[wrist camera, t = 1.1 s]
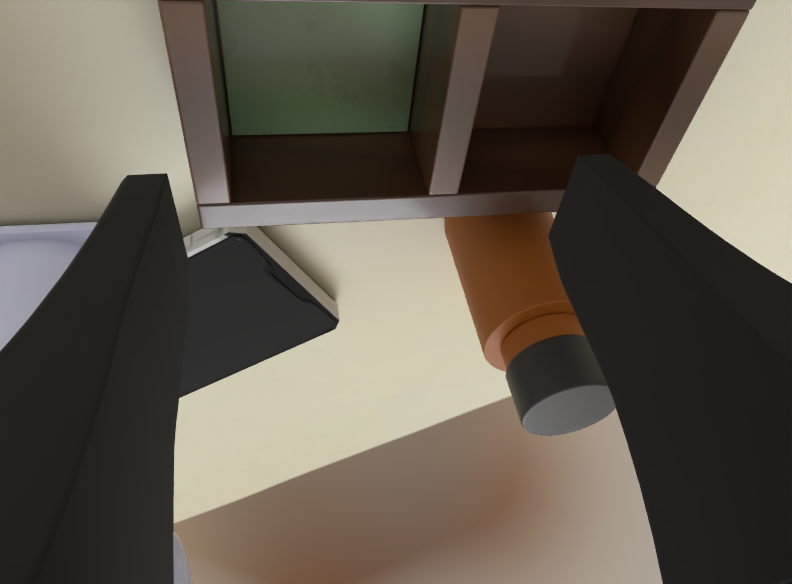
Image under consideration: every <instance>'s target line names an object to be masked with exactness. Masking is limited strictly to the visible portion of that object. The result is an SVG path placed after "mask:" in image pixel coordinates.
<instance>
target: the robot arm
mask: <svg viewBox="0 0 792 584" xmlns="http://www.w3.org/2000/svg"><path fill="white" fill-rule="evenodd" d="M548 237H549V241H550V245H551V249H552V252H553V256H554V260H555V263H556V267H557V270H558V273H559V276H560V280H561V283H562V285H563V287H564V290H565V292H566V294H567V296H568V299H569V301H570V303H571V305H572V308H573V310H574V312H575V314H576V317H577V319H578V321H579V323H580V325H581V328H582V330H583V332H584V334H585V336H586V338H587V341H588V343H589V345H590V347H591V349H592V351H593V354H594V356H595V358H596V360H597V362H598V365H599V367H600V369H601V371H602V373H603V376H604V378H605V380H606V383H607V385H608V388H609V390H610V393H611V395H612V398H613V400H614V403H615V407H616V410H617V412H618V416H619V419H620V422H621V425H622V428H623V431H624V434H625V437H626V440H627V443H628V447H629V450H630V453H631V457H632V460H633V464H634V467H635V470H636V474H637V478H638V481H639V484H640V488H641V492H642V496H643V500H644V503H645V508H646V512H647V515H648V519H649V523H650V527H651V531H652V535H653V539H654V544H655V549H656V553H657V558H658V563H659V567H660V572H661V577H662V582H663V584H792V283H790V282H788V281H786V280H785V279H783V278H781V277H780V276H778V275H776V274H775V273H773V272H771V271H770V270H768V269H767V268H765V267H764V266H762V265H760V264H759V263H757V262H756V261H754V260H753V259H751V258H750V257H748V256H747V255H746V254H744V253H743V252H741V251H740V250H738V249H737V248H735V247H734V246H732V245H731V244H729V243H728V242H726V241H725V240H724V239H722V238H721V237H720V236H718V235H717V234H715V233H714V232H713V231H711V230H710V229H708V228H707V227H706V226H704V225H703V224H702V223H700V222H699V221H698V220H696V219H695V218H694V217H692V216H691V215H690V214H688V213H687V212H686V211H684V210H683V209H682V208H681V207H679V206H678V205H677V204H675V203H674V202H673V201H671V200H670V199H669V198H668V197H666V196H665V195H664V194H662V193H661V192H660V191H659V190H657V189H656V188H655V187H653V186H652V185H651V184H650V183H648V182H647V181H646V180H644V179H643V178H642V177H640V176H639V175H638V174H636V173H635V172H634V171H633V170H631V169H630V168H628V167H627V166H626V165H624V164H623V163H622V162H620V161H619V160H617V159H616V158H614V157H613V156H611V155H610V154H600V155H578V157H577V160H576V163H575V165H574V168H573V171H572V173H571V176H570V179H569V181H568V184H567V187H566V189H565V192H564V195H563V197H562V200H561V203H560V206H559V208H558V211H557V214H556V216H555V219H554V222H553V224H552V227H551V230H550V232H549V235H548ZM188 317H189V262H188V256H187V252H186V248H185V244H184V240H183V236H182V232H181V228H180V224H179V220H178V216H177V212H176V208H175V204H174V200H173V196H172V192H171V188H170V184H169V180H168V176H167V174H145V175H127V177H126V178H125V179H124V180H123V181H122V182H121V184H120V186H119V187H118V189H117V191H116V193H115V194H114V196H113V198H112V199H111V201H110V203H109V204H108V206H107V208H106V209H105V211H104V213H103V214H102V216H101V218H100V219H99V221H98V222H84V223H62V224H39V225H17V226H0V584H193V583H192V575H191V570H190V566H189V563H188V560H187V558H186V554H185V551H184V548H183V545H182V543H181V541H180V539H179V538H178V536H177V534H176V533H175V532H174V531H173V497H174V444H175V430H176V420H177V411H178V403H179V394H180V386H181V378H182V369H183V361H184V352H185V344H186V335H187V326H188Z"/></svg>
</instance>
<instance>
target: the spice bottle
mask: <svg viewBox="0 0 792 584" xmlns="http://www.w3.org/2000/svg"><path fill="white" fill-rule="evenodd" d="M553 222H554V218H553V216H552V214H551V212H545V213H524V214H503V215H483V216H462V217H446V220H445V233H446V237H447V240H448V243H449V246H450V249H451V252H452V256H453V259H454V262H455V265H456V268H457V271H458V274H459V278H460V281H461V284H462V287H463V290H464V293H465V297H466V300H467V303H468V306H469V309H470V312H471V316H472V319H473V322H474V325H475V328H476V331H477V334H478V338H479V341H480V344H481V347H482V350H483V353H484V356H485V358H486V360H487V361H488V362H489V364H491V365H492V366H493V367H495V368H497V369H500V370H503V371H506V379H507V382H508V385H509V388H510V391H511V394H512V397H513V400H514V403H515V406H516V409H517V412H518V415H519V418H520V421H521V424H522V426H523V428H524V429H525V430H527V431H528V432H530V433H532V434H535V435H543V436H548V435H549V436H552V435H560V434H566V433H570V432H574V431H577V430H580V429H583V428H586V427H588V426H590V425H592V424H594V423H596V422H598V421H600V420H602V419H603V418H605V417H606V416H608V415H609V414H610V413H611V412H612V411H613V410H614V409H615V408H616V407H615V403H614V400H613V398H612V395H611V393H610V390H609V388H608V385H607V383H606V380H605V378H604V376H603V373H602V371H601V369H600V367H599V365H598V362H597V360H596V358H595V356H594V354H593V351H592V349H591V347H590V345H589V343H588V341H587V338H586V336H585V334H584V332H583V330H582V328H581V325H580V323H579V321H578V319H577V317H576V314H575V312H574V310H573V308H572V305H571V303H570V301H569V299H568V296H567V294H566V292H565V290H564V287H563V285H562V283H561V280H560V276H559V273H558V270H557V267H556V263H555V260H554V256H553V252H552V249H551V245H550V241H549V237H548V235H549V232H550V230H551V227H552V224H553Z"/></svg>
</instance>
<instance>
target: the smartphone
mask: <svg viewBox="0 0 792 584" xmlns="http://www.w3.org/2000/svg"><path fill="white" fill-rule="evenodd" d="M183 240H184V244H185V248H186V252H187V256H188V262H189V317H188V326H187V335H186V344H185V352H184V361H183V369H182V378H181V386H180V394H179V398H180V397H183V396H185V395H187V394H189V393H192V392H194V391H196V390H198V389H201V388H203V387H205V386H207V385H210V384H212V383H214V382H216V381H219V380H221V379H223V378H226V377H228V376H230V375H232V374H235V373H237V372H239V371H241V370H244V369H246V368H248V367H250V366H253V365H255V364H257V363H259V362H262V361H264V360H266V359H269V358H271V357H273V356H275V355H278V354H280V353H282V352H284V351H287V350H289V349H291V348H293V347H296V346H298V345H300V344H302V343H305V342H307V341H309V340H311V339H314V338H316V337H318V336H321V335H323V334H325V333H327V332H330V331H332V330H334V329H335V328H336V326H337V324H338V322H339V314H338V306H337V303H336V302H334V301H333V300H332V299H331V298H330V297H329V296H328V295H327V294H326V293H325V292H324V291H323V290H322V289H321V288H320V287H319V286H318V285H317V284H316V283H315V282H314V281H313V280H312V279H311V278H310V277H309V276H308V275H307V274H306V273H304V272H303V271H302V270H301V269H300V268H299V267H298V266H297V265H296V264H295V263H294V262H293V261H292V260H291V259H290V258H289V257H288V256H287V255H286V254H285V253H284V252H283V251H282V250H281V249H280V248H279V247H278V246H277V245H276V244H275V243H273V242H272V241H271V240H270V239H269V238H268V237H267V236H266V235H265V234H264V233H263V232H262V231H261V230H260V229H259V228H258V227H257V226H254V227H233V228H212V229H200V230H198V231H196V232H194V233H192V234H190V235H188V236H186V237H184V238H183Z"/></svg>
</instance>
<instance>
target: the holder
mask: <svg viewBox="0 0 792 584" xmlns="http://www.w3.org/2000/svg"><path fill="white" fill-rule="evenodd" d="M755 2H756V0H158V6H159V11H160V16H161V22H162V27H163V32H164V37H165V42H166V48H167V53H168V58H169V63H170V68H171V74H172V79H173V84H174V89H175V94H176V100H177V105H178V110H179V115H180V120H181V126H182V131H183V136H184V141H185V146H186V152H187V157H188V162H189V167H190V172H191V178H192V183H193V188H194V193H195V198H196V202H197V209H198V214H199V219H200V224H201V227H202V229H212V228H233V227H254V226H275V225H296V224H316V223H337V222H358V221H379V220H400V219H420V218H441V217H462V216H483V215H503V214H524V213H545V212H557V211H558V208H559V206H560V203H561V200H562V197H563V195H564V192H565V189H566V187H567V184H568V181H569V179H570V176H571V173H572V171H573V168H574V165H575V163H576V160H577V157H578V155H600V154H610V155H611V156H613V157H614V158H616V159H617V160H619V161H620V162H622V163H623V164H624V165H626V166H627V167H628V168H630V169H631V170H633V171H634V172H635V173H636V174H638V175H639V176H640V177H642V178H643V179H644V180H646V181H647V182H648V183H650V184H651V185H652V186H653V187H655V188H656V185H657V184H658V183H659V181H660V179H661V177H662V175H663V174H664V172H665V170H666V168H667V166H668V164H669V162H670V160H671V159H672V157H673V155H674V153H675V151H676V149H677V147H678V145H679V144H680V142H681V140H682V138H683V136H684V134H685V132H686V130H687V129H688V127H689V125H690V123H691V121H692V119H693V117H694V115H695V114H696V112H697V110H698V108H699V106H700V104H701V102H702V100H703V99H704V97H705V95H706V93H707V91H708V89H709V87H710V85H711V84H712V82H713V80H714V78H715V76H716V74H717V72H718V70H719V69H720V67H721V65H722V63H723V61H724V59H725V57H726V55H727V54H728V52H729V50H730V48H731V46H732V44H733V42H734V40H735V39H736V37H737V35H738V33H739V31H740V29H741V27H742V25H743V24H744V22H745V20H746V18H747V16H748V14H749V10H750V9H752V7H753V6H754V4H755Z"/></svg>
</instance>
